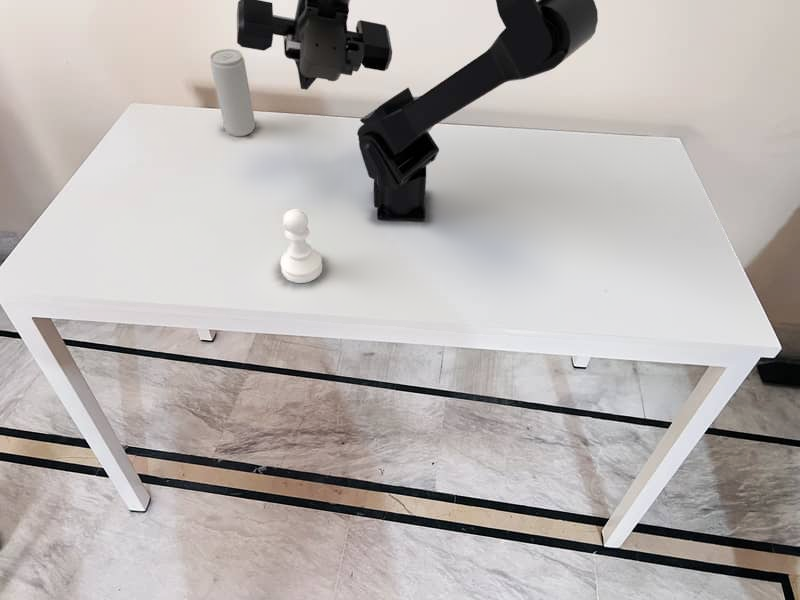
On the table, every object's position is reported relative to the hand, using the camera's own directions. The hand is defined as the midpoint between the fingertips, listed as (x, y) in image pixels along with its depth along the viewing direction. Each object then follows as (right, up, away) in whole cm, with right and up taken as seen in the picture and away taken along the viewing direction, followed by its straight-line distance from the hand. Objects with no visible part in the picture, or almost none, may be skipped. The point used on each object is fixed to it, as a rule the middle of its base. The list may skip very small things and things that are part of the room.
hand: (303, 87), depth 82 cm
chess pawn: (+1, -25, -6) cm, 26 cm away
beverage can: (-12, -2, +15) cm, 20 cm away
